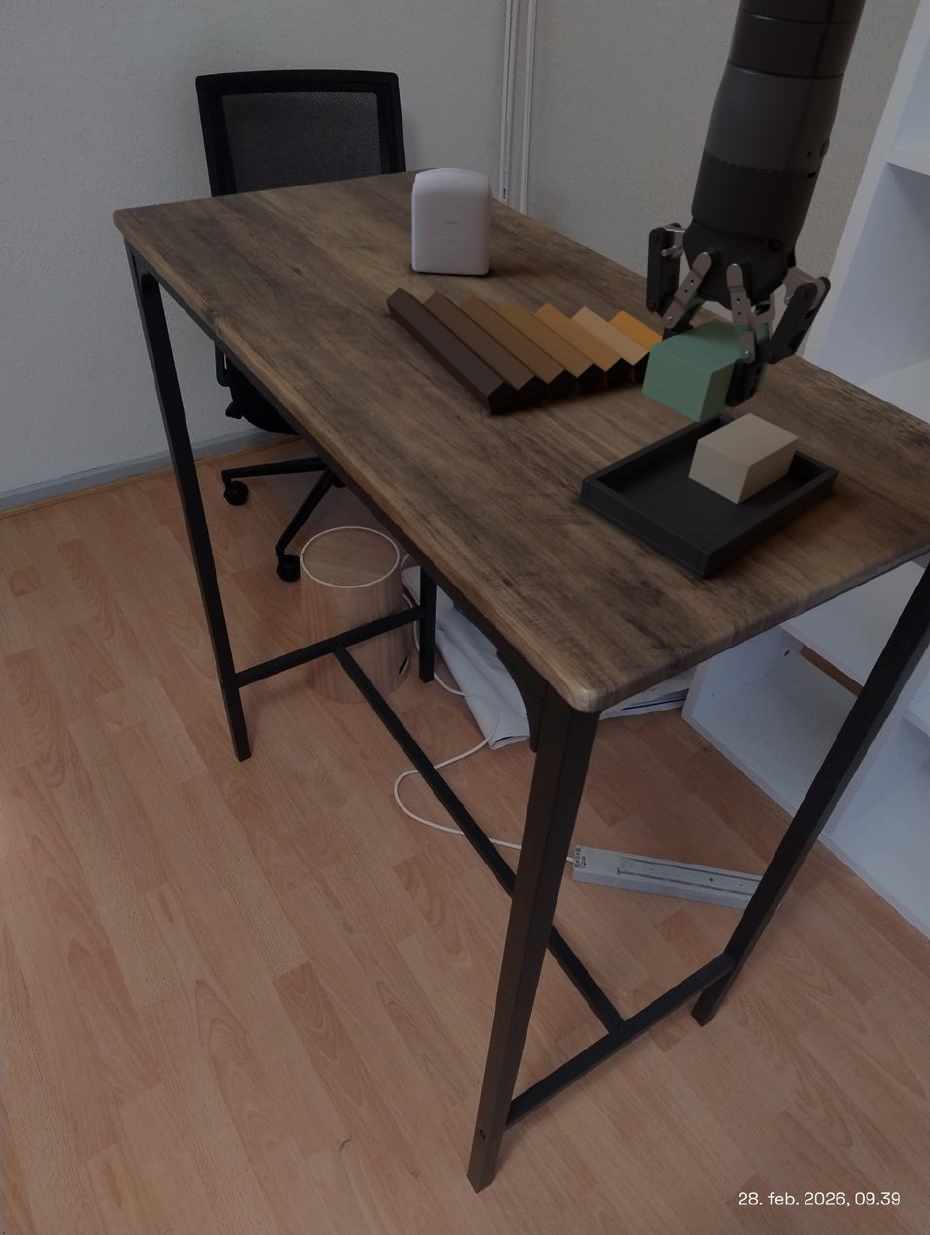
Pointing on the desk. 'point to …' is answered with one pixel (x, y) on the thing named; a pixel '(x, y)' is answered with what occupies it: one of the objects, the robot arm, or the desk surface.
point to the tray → (698, 500)
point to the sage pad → (694, 370)
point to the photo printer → (451, 222)
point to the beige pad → (743, 457)
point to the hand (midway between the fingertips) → (703, 386)
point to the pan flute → (525, 348)
